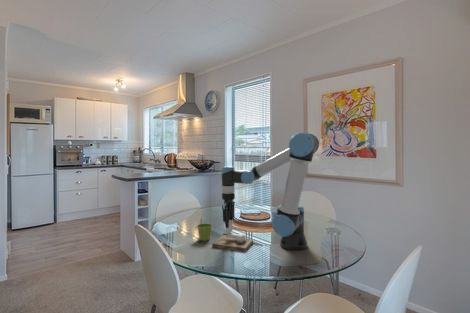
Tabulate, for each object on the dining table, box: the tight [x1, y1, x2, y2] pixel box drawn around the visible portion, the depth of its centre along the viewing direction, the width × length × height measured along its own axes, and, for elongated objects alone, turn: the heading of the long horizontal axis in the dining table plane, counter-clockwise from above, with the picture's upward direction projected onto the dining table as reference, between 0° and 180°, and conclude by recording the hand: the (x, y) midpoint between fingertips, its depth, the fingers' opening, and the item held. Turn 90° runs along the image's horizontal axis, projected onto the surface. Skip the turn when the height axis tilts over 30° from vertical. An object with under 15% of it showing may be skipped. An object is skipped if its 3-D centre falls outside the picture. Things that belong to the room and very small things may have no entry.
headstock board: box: [211, 235, 254, 252], centre depth 155 cm, size 20×16×2 cm
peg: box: [222, 220, 246, 243], centre depth 159 cm, size 15×6×11 cm, turn 60°
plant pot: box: [196, 223, 213, 242], centre depth 166 cm, size 9×9×9 cm
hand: (229, 231), depth 160 cm, fingers open, 3 cm apart
